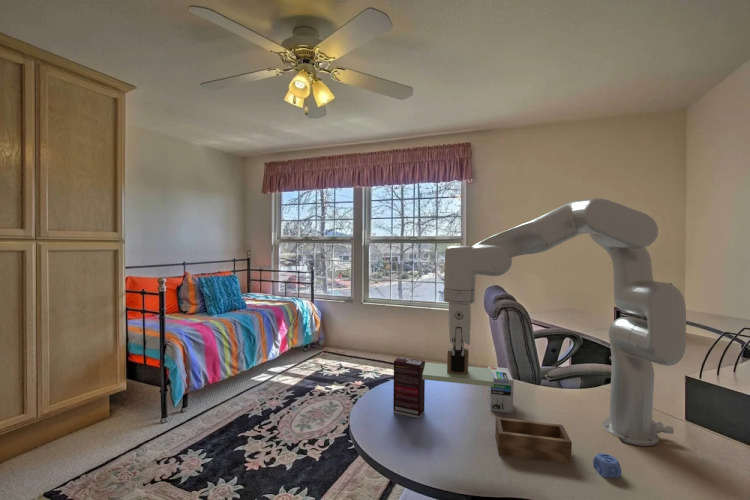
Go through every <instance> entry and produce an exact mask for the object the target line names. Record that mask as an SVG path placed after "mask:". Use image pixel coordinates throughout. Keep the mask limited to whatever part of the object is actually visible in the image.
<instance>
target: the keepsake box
mask: <svg viewBox="0 0 750 500" xmlns="http://www.w3.org/2000/svg"><path fill="white" fill-rule="evenodd" d="M494 433H495V441H496V447H497V452H498V455H500V456H509V457H515V458H521V459H522V458H523V459H529V460H536V461H543V462H544V461H545V462H551V463H552V462H553V463H559V464H566V465H571V464H572V450H573V449H572V445H573V442H572V440H571V438H570V436H569V434H568V433H567V431H566V429H565V427H564V425H563V424H557V423H551V422H541V421H540V422H539V421H534V420H533V421H532V420H524V419H523V420H522V419H513V418H505V417H497V416H495V431H494Z"/></svg>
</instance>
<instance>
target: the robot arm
mask: <svg viewBox="0 0 750 500" xmlns="http://www.w3.org/2000/svg"><path fill="white" fill-rule="evenodd" d="M583 234H588V235H590V238H591V239H592V241H593V242H595V244H597V245H599V246H600V247H602V248H603V249H604V250H605V251H606V253H608V255H609V257H610V259H611V262H612V268H613V269H612V270H613V298H614V299H613V300H614V304H615V306H616V307H617V308H618V309H619V310H620V311H623V312H625V313H629V314H631V315H635V316H638V317H643V318H646V319H647V320H644V319H641V318H637V317H633V316H622V317H618V318H617V319H614V320H613V322H612V323H611V324H610V325H609V328H608V341H609V346H610V353H611V355H610V356H611V370H610V373H611V374H610V391H609V395H610V396H609V397H610V398H609V416H608V417H609V418H606V419H604V420H603V421H602V427H603V429H604V430H605V431H606V432H608V433H609V434H611V435H612V436H614V437H616V438H618V439H619V441H621V442H624V443H627V444H631V445H636V446H642V447H644V446H645V447H649V446H650V447H651V446H655V445H657V444H658V443H659V440H660V438H659V437H660V436H659V434H661V433H664V434H671V435H673V434H674V433H675V431H674V428H673V426H672V425H666V424H663V422H662V421H657V420H655V421H654V420H653V408H654V388H655V370H654V365H653V363H654V364H657V365H661V366H664V367H665V366H667V367H669V366H674V365H677V364H678V363H680V362H681V360H682V359H683V358H684V355H685V352H686V347H687V308H686V300H685V298H684V296H683V294H682V292H681V291H680V289H679V288H678V287H677V286H674V285H673V284H671V283H668V282H662V281H657V280H654V277H653V267H652V260H651V255H650V253H649V251H648V249H647V247H650V246H651V245H652V244H653V243H654V242H655V241H656V239H657V238H658V236H659V226H658V223H657V222H656V220H654V218H652V217H651V216H650V215H649V214H647V213H645V212H642V211H639V210H638V209H634V208H631V207H628V206H626V205H624V204H620V203H618V202H616V201H611V200H608V199H605V198H597V197H596V198H588V199H580V200H574V201H573V200H572V201H570V202H568V203H565V204H563V205H561V206H558V207H557V208H555V209H553V210H551V211H549V212H547V213H545V214H543V215H540V216H538V217H536V218H534V219H531V220H530V221H527V222H525V223H522V224H521V223H520V224H519V225H516V226H515V227H514V226H513V227H512V228H509V229H507V230H504V231H501V232H499V233H496V234H494V235H492V236H489V237H487V238H485V239H482V240H481V241H479V242H477V243H475V244H473V245H472V246H470V245H449V246H447V247H446V248H445V251H444V276H443V277H444V280H443V281H444V283H443V284H444V285H443V286H444V287H443V301H444V302H445V303H448V336H449V338H448V339H449V343H450V344H451V345H452V347H451V348H452V354H451V371H454V372H464V365H465V356H464V349H465V344H466V345H467V346H469V345H471V328H472V327H471V322H472V321H471V320H472V319H471V318H472V309H471V305H473V304H475V303H476V278H477V277H476V275H480V276H487V277H500V276H502V275H505V274H506V273H508V272H509V270H510V269H511V267H512V263H513V259H512V258H516V257H518V256H524V255H525V256H526V255H533V254H539V253H540V254H541V253H543V252H547V251H549V250H551V249H553V248H555V247H557V246H559V245H561V244H563V243H566V242H567V241H569V240H571V239H573V238H575V237H577V236H580V235H583ZM454 351H455V353H454ZM454 354H455V355H454Z"/></svg>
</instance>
